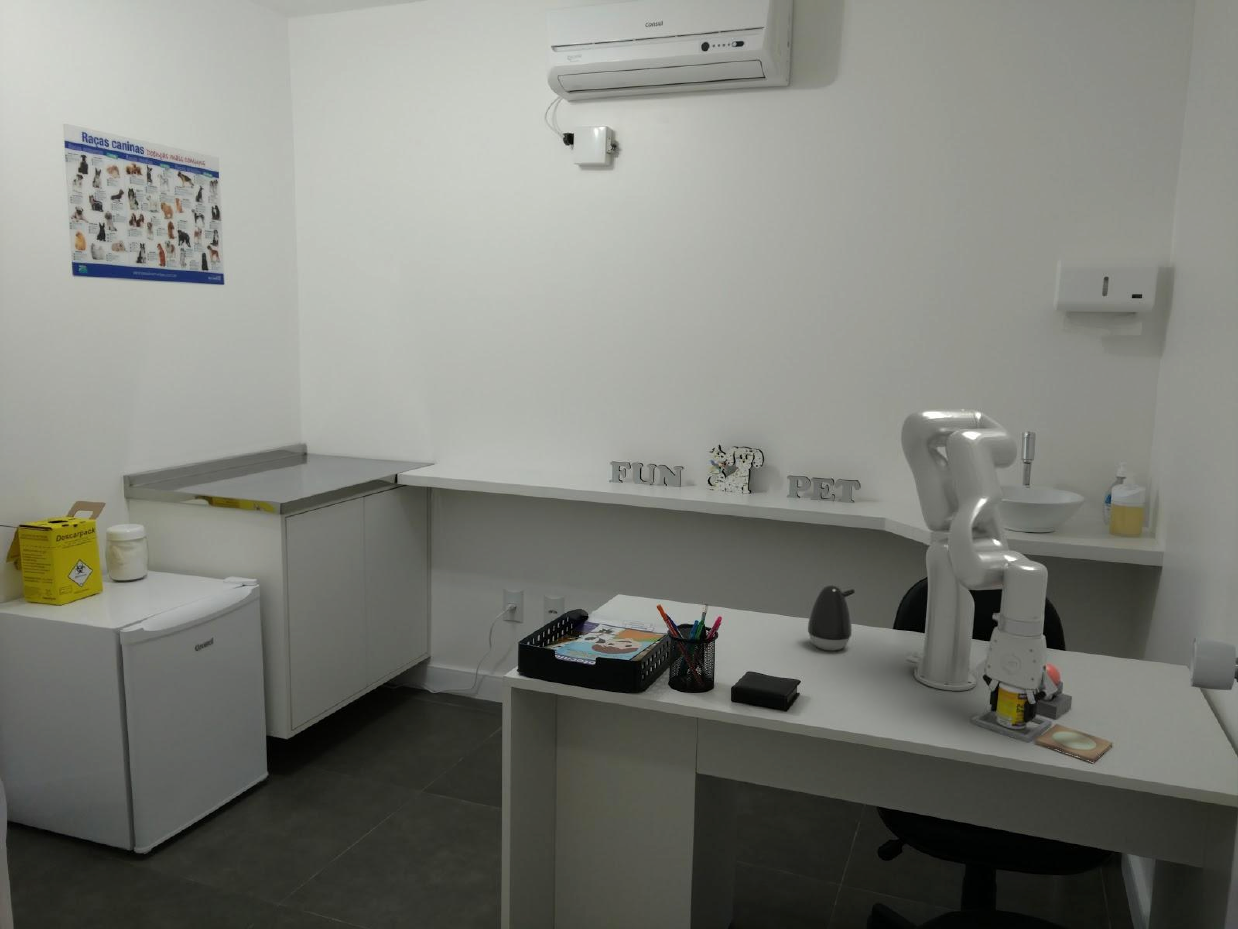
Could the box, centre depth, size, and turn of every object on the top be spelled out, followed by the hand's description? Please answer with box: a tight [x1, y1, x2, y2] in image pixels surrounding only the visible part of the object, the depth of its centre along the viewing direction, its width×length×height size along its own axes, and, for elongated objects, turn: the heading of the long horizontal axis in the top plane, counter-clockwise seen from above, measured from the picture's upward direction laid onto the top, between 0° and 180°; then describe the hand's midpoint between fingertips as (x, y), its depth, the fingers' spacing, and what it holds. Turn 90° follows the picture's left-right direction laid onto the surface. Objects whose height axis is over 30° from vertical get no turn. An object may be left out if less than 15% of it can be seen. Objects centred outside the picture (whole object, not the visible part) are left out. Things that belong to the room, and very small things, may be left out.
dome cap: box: [1038, 662, 1064, 701], centre depth 179 cm, size 6×6×8 cm
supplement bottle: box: [995, 682, 1028, 730], centre depth 170 cm, size 6×6×10 cm
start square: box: [970, 705, 1053, 743], centre depth 171 cm, size 11×11×1 cm
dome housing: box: [1036, 692, 1073, 720], centre depth 179 cm, size 8×8×2 cm
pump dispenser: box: [807, 584, 856, 652], centre depth 210 cm, size 10×10×15 cm
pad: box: [1034, 723, 1114, 763], centre depth 163 cm, size 10×10×1 cm
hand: (1012, 714), depth 171 cm, fingers closed on supplement bottle, 5 cm apart
